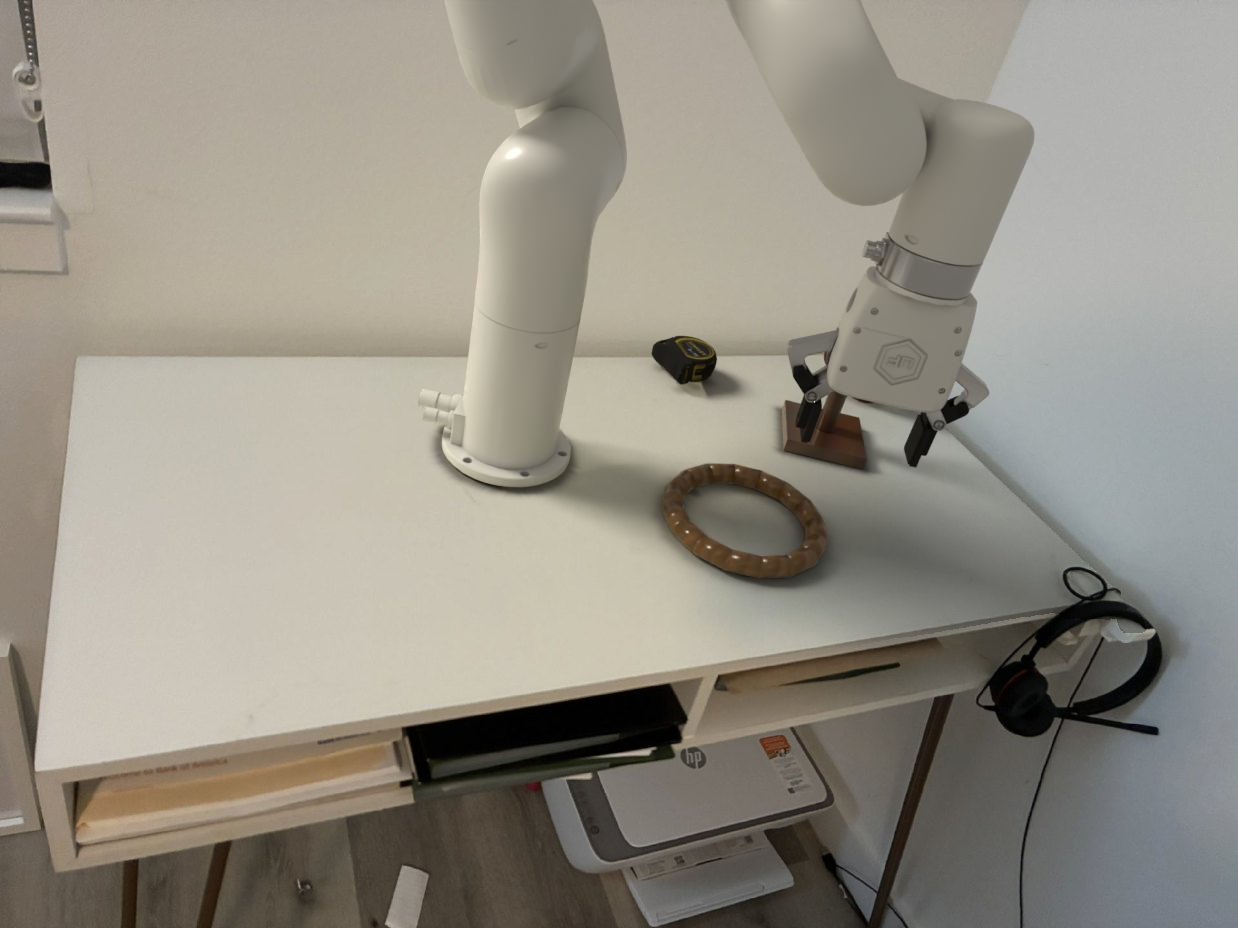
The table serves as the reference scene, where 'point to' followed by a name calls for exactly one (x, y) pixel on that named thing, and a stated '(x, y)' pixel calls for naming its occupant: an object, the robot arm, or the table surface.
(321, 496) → the table surface
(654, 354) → the tape measure
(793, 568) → the ring
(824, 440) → the post
